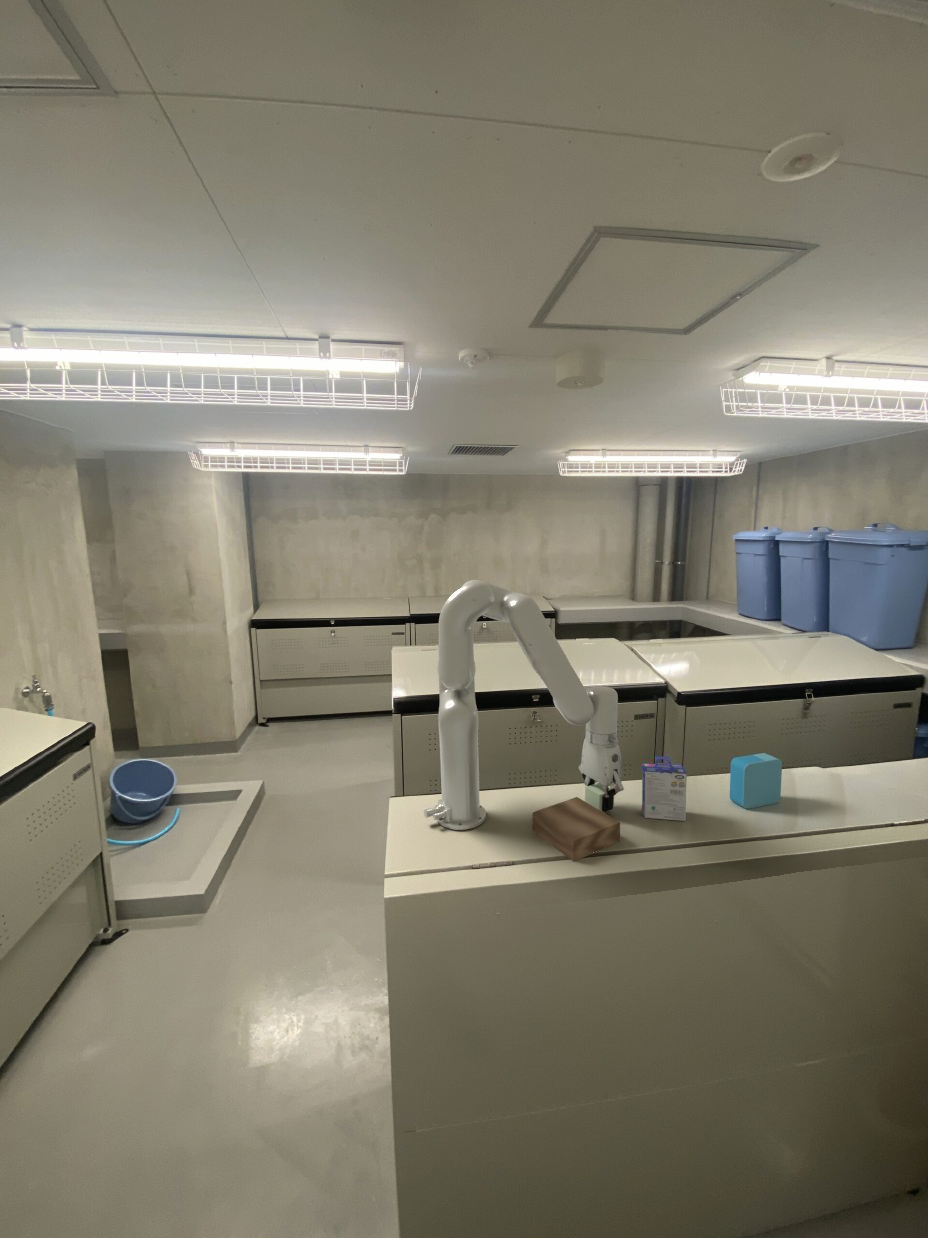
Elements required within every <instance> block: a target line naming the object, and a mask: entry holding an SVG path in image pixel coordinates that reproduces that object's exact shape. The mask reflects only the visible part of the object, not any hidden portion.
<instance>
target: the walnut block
mask: <svg viewBox="0 0 928 1238" xmlns="http://www.w3.org/2000/svg"><path fill="white" fill-rule="evenodd" d="M532 831H533V832H534V833H535V834H536V835H538V836H540V838H542V839H544V840H545V842H547V843H548V844H549V845H551V846H552V847H553V848H555V849H556V850H558V852H560V853H561V854H563V855H564V856H565V857H566V858H568V859H569V860H571V861H572V862H576V861H578V860H581V859H583V858H585V857H587V856H590V855H592V854H594V853H597V852H598V850H599V851H601V850H603V849H606V848H608V847H610V846H613V845H615V844H617V843H620V842H621V821H619V820H617V819H616V818H614V817H613V816H611V815H609V814H607V813H606V812H605V813H604V812H602V811H600V810H599V809H597V808H595V807H593V806H592V805H590V804H588V803H587V802H585V800H583V799H581V798H580V797H578V796H576V797H572V798H570V799H567V800H564V801H561V802H558V803H555V804H553V805H549V806H547V807H544V808H540V809H538V810H535V811H532ZM596 851H597V852H596ZM593 852H594V853H593Z"/></svg>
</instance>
